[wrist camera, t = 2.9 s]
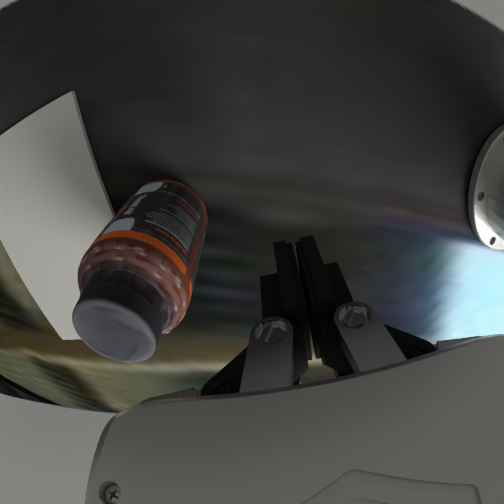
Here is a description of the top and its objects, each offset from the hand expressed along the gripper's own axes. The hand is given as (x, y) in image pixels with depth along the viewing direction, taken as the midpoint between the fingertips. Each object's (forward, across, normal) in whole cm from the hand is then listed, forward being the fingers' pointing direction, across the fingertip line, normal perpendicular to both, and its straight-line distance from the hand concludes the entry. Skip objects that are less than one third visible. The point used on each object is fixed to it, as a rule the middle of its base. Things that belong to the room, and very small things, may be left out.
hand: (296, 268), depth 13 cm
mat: (+9, +19, 0) cm, 21 cm away
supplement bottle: (+9, +8, 0) cm, 12 cm away
